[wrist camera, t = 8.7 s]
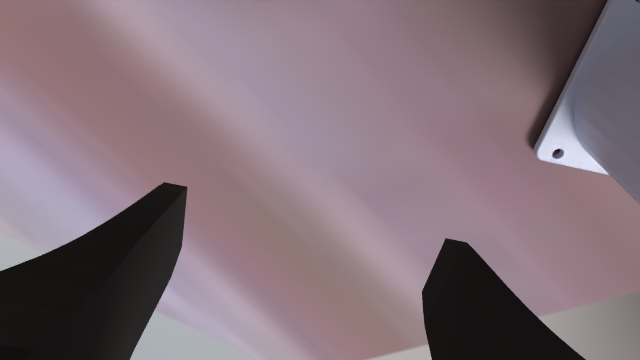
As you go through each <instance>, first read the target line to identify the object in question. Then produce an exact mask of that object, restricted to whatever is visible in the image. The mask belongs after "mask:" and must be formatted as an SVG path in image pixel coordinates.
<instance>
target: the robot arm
mask: <svg viewBox="0 0 640 360" xmlns="http://www.w3.org/2000/svg"><path fill="white" fill-rule="evenodd" d="M556 149H560V152H559V153H558V154H556V155H552V153H553V152H554V150H556ZM534 153H535V155H536V156H537V157H538V158H539V159H540V160H542V161H547V162H551V163H556V164H561V165H565V166H570V167H574V168H579V169H584V170H588V171H593V172H597V173H602V174H607V175H610V176H611V177H612V178H613V179H614V180H615V181H616V182H617V183H618V184H619V185H620V186H621V187H622V188H623V189H624V190H625V191H626V192H627V193H628V194H629V195H630V196H631V197H632V198H633V199H634V200H635V201H636V202H637V203H638V204H639V205H640V0H638V1H635V0H608V1H607V3H606V5H605V7H604V9H603V11H602V13H601V15H600V17H599V19H598V21H597V23H596V25H595V27H594V29H593V31H592V33H591V35H590V37H589V39H588V41H587V43H586V45H585V47H584V49H583V51H582V53H581V55H580V57H579V59H578V61H577V63H576V65H575V67H574V69H573V71H572V73H571V75H570V77H569V79H568V81H567V83H566V85H565V87H564V89H563V91H562V93H561V95H560V97H559V99H558V101H557V103H556V105H555V107H554V109H553V111H552V113H551V115H550V117H549V119H548V121H547V123H546V125H545V127H544V129H543V131H542V133H541V135H540V137H539V138H538V140H537V142H536V144H535V147H534ZM186 196H187V187H185V186H180V185H175V184H170V183H165V182H164V183H163V184H161V185H159V186H158V187H156V188H155V189H154V190H152V191H151V192H149V193H148V194H147V195H145V196H144V197H142V198H141V199H140V200H138V201H137V202H135V203H134V204H132V205H131V206H129V207H128V208H126V209H125V210H123V211H122V212H120V213H119V214H117V215H116V216H114V217H113V218H111V219H110V220H108V221H106V222H105V223H103V224H101V225H100V226H98V227H96V228H95V229H93V230H91V231H89V232H88V233H86V234H84V235H83V236H81V237H79V238H77V239H75V240H73V241H71V242H69V243H67V244H65V245H63V246H61V247H59V248H57V249H54V250H52V251H50V252H48V253H46V254H43V255H41V256H39V257H36V258H34V259H31V260H29V261H26V262H23V263H21V264H18V265H15V266H13V267H10V268H8V269H5V270H3V271H0V360H130V357H131V355H132V353H133V351H134V349H135V347H136V345H137V343H138V341H139V339H140V337H141V335H142V333H143V331H144V329H145V327H146V325H147V323H148V322H149V319H150V318H151V316H152V314H153V312H154V310H155V308H156V306H157V304H158V302H159V300H160V298H161V296H162V294H163V292H164V290H165V288H166V286H167V284H168V282H169V280H170V278H171V276H172V273H173V270H174V267H175V265H176V262H177V259H178V256H179V253H180V250H181V247H182V239H183V228H184V217H185V207H186ZM422 300H423V314H424V325H425V330H426V334H427V339H428V344H429V348H430V353H431V357H432V360H585V359H584V358H583V357H582V356H580V355H579V354H578V353H577V352H575V351H574V350H573V349H572V348H571V347H570V346H568V345H567V344H566V343H565V342H564V341H563V340H561V339H560V338H559V337H558V336H557V335H556V334H555V333H553V332H552V331H551V330H550V329H549V328H548V327H547V326H546V325H545V324H544V323H543V322H542V321H541V320H539V318H538V317H537V316H536V315H535V314H533V313H532V312H531V311H530V310H529V309H528V308H527V307H526V306H525V305H524V304H523V302H522V301H521V300H520V299H519V298H518V297H517V296H516V295H515V294H514V293H513V292H512V291H511V290H510V289H509V288H508V287H507V286H506V284H505V283H504V282H503V281H502V280H501V279H500V278H499V277H498V276H497V275H496V273H495V272H494V271H493V270H492V269H491V268H490V267H489V266H488V264H487V263H486V262H485V261H484V260H483V259H482V258H481V257H480V256H479V255H478V253H477V252H476V251H475V250H474V249H473V248H472V247H471V246H470V245H469V244H468V243H467V242H462V241H457V240H452V239H447V238H446V239H445V241H444V243H443V246H442V248H441V250H440V252H439V255H438V257H437V259H436V261H435V264H434V266H433V268H432V270H431V273H430V275H429V277H428V279H427V282H426V284H425V286H424V288H423V291H422Z"/></svg>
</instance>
